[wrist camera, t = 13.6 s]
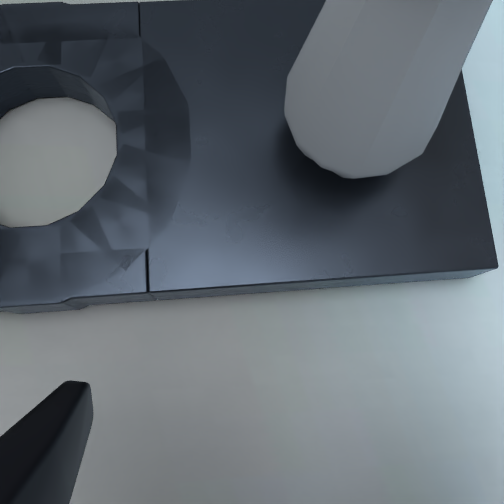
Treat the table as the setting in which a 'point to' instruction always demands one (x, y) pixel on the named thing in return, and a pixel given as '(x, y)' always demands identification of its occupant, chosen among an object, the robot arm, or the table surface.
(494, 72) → the table surface
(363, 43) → the white rounded peg
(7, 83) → the plate
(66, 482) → the robot arm
